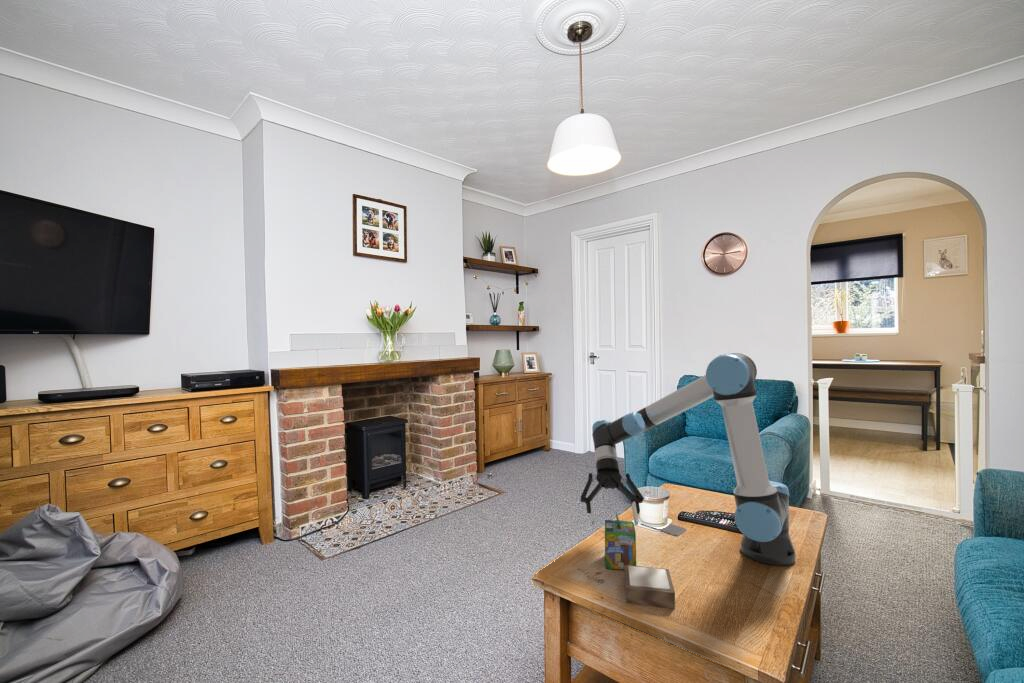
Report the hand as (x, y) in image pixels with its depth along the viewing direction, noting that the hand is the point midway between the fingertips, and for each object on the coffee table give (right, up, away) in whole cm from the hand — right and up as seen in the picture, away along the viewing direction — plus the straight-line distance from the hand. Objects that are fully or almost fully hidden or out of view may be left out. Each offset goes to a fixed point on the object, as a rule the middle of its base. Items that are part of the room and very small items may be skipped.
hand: (614, 523), depth 141 cm
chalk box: (+1, -11, -3) cm, 11 cm away
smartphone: (+23, -11, +23) cm, 34 cm away
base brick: (+5, -11, -19) cm, 23 cm away
